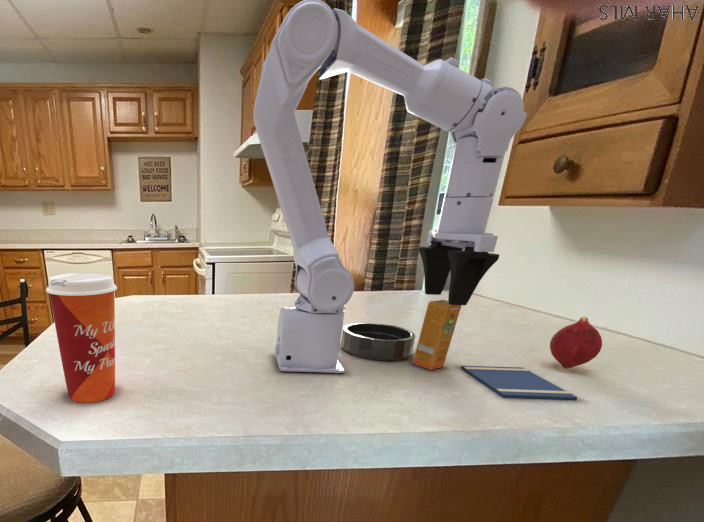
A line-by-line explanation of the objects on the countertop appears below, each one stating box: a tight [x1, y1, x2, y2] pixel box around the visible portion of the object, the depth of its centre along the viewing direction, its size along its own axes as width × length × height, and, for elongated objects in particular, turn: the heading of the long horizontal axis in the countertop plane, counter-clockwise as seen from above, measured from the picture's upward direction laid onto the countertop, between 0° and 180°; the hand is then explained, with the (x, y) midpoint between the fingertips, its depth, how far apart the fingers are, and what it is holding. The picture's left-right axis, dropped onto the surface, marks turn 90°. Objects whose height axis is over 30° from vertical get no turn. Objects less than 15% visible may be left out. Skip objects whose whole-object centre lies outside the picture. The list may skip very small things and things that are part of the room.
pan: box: [340, 322, 416, 362], centre depth 72 cm, size 11×11×4 cm
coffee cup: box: [45, 272, 118, 404], centre depth 53 cm, size 8×8×15 cm
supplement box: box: [412, 299, 462, 371], centre depth 64 cm, size 3×3×10 cm
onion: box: [549, 316, 603, 369], centre depth 64 cm, size 6×6×8 cm
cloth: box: [460, 365, 578, 401], centre depth 60 cm, size 9×11×1 cm
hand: (444, 299), depth 62 cm, fingers open, 7 cm apart
